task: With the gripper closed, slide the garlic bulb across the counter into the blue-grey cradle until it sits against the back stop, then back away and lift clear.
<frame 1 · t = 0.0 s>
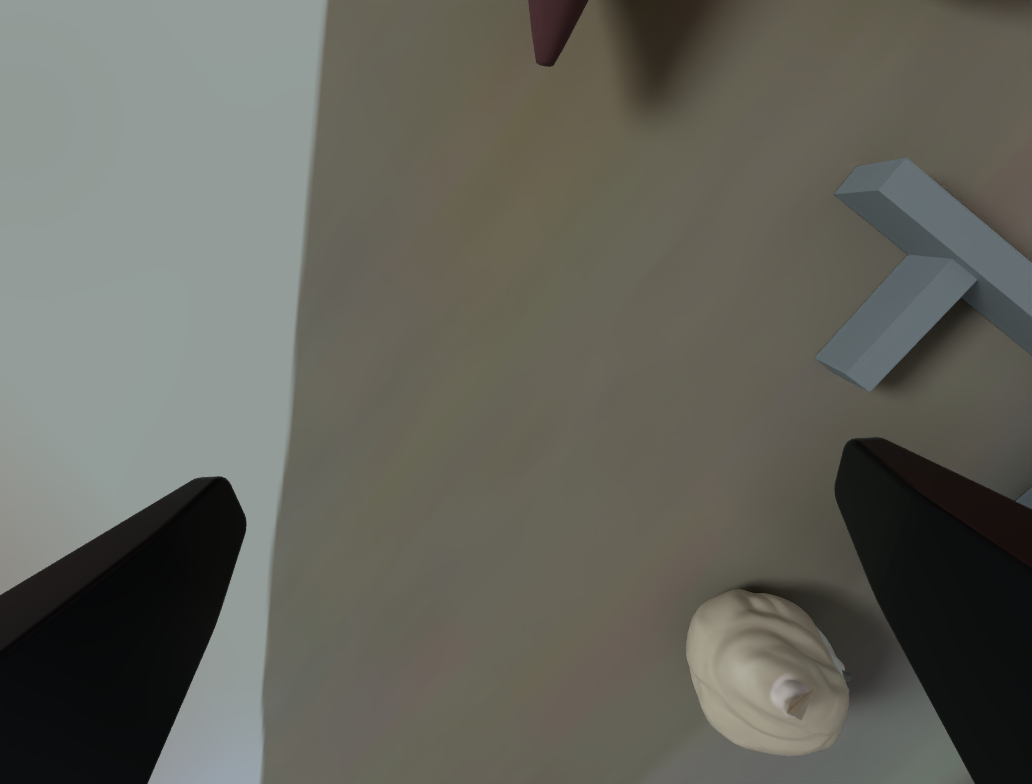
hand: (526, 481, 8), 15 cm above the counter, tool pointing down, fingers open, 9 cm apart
garlic bulb: (737, 620, 27), on the counter
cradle: (934, 433, 24), on the counter
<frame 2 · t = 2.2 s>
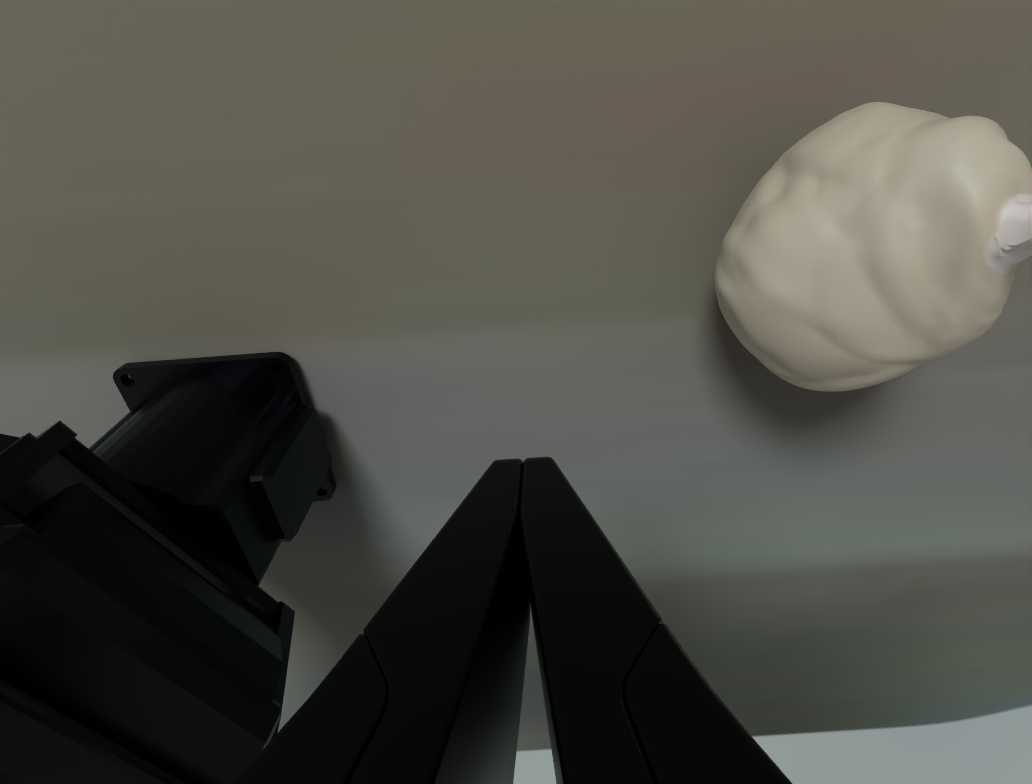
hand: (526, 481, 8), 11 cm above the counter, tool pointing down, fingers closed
garlic bulb: (797, 224, 17), on the counter
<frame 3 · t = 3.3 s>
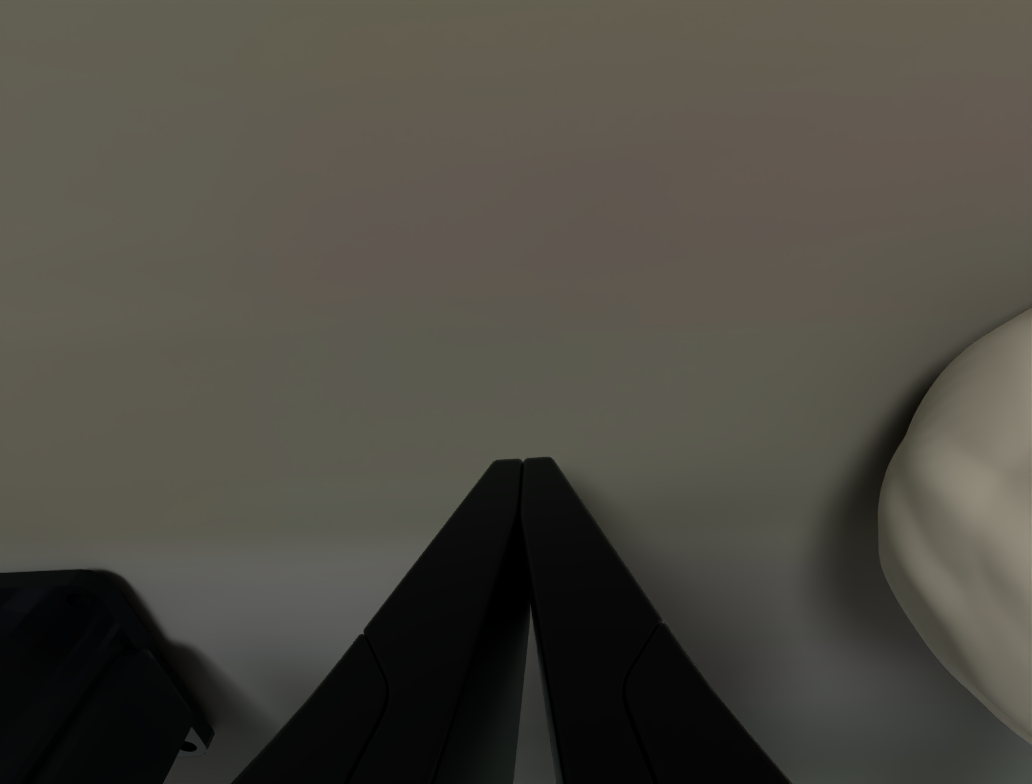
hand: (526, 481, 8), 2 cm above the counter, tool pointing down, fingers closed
garlic bulb: (1008, 384, 9), on the counter
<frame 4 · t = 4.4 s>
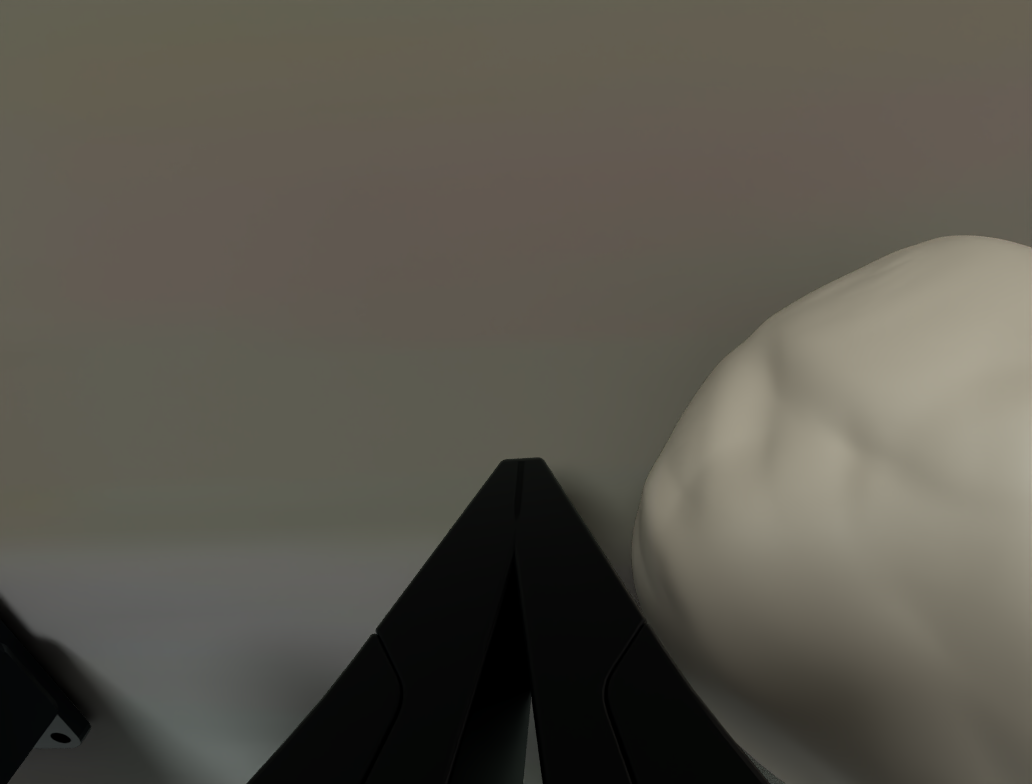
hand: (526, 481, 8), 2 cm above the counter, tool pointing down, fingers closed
garlic bulb: (799, 400, 10), on the counter, touching gripper
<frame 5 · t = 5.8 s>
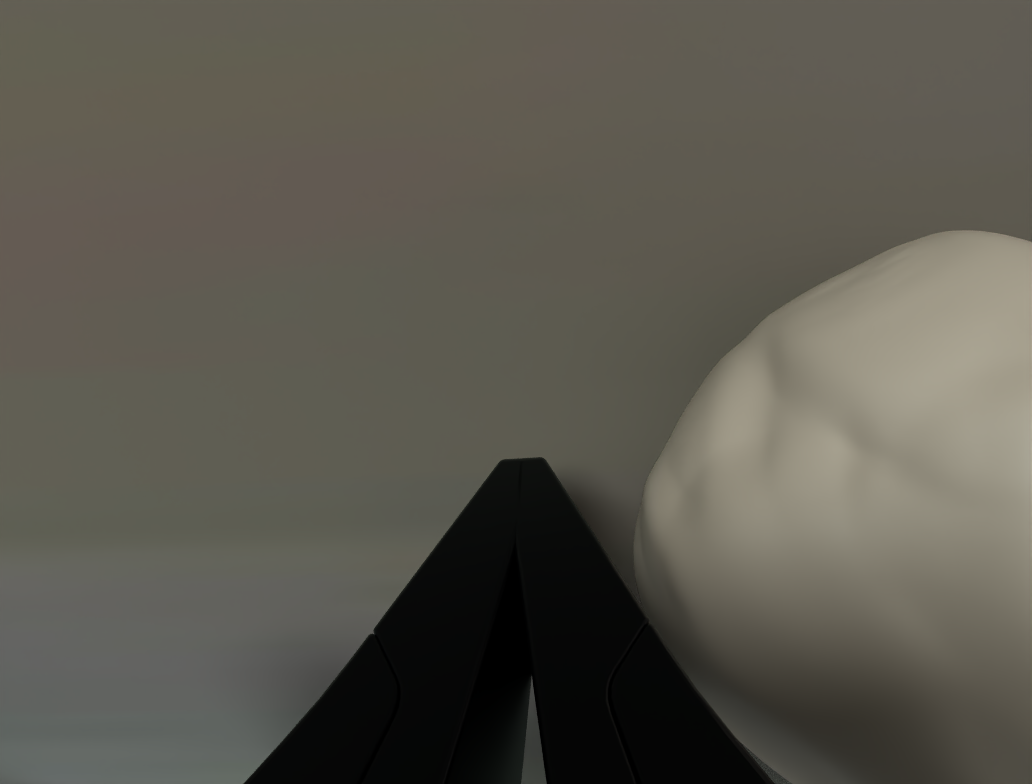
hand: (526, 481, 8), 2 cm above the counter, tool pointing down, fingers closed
garlic bulb: (799, 397, 10), on the counter, touching gripper
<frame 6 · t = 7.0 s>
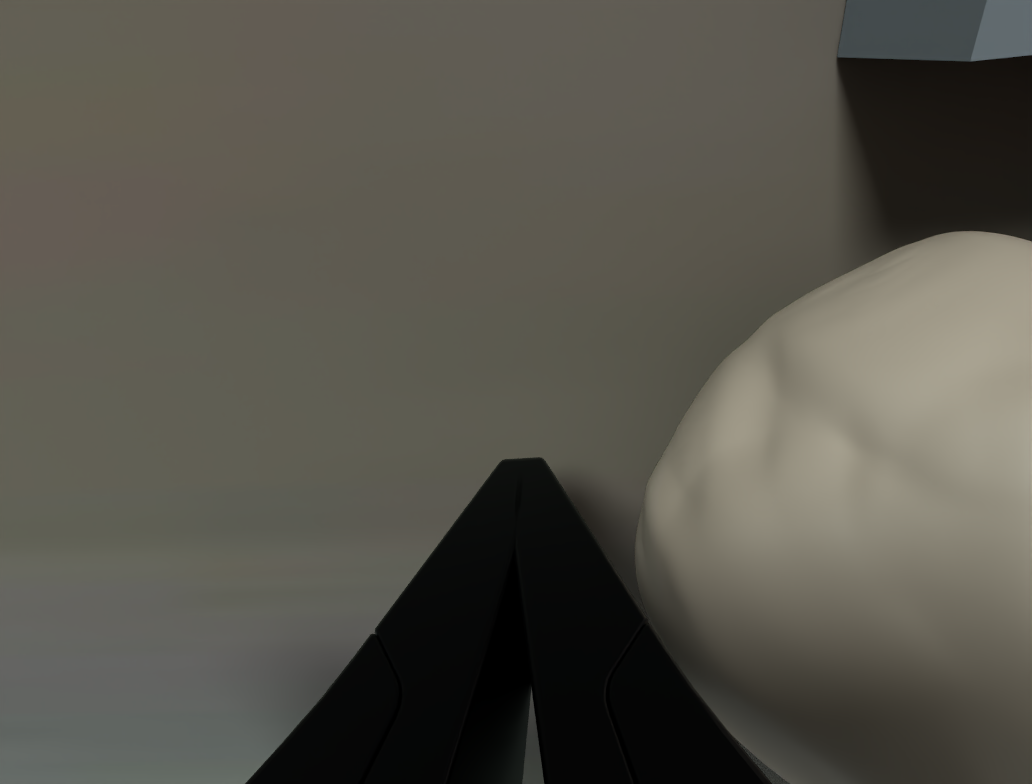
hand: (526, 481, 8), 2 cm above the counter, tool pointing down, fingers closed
garlic bulb: (803, 398, 9), on the counter, touching gripper
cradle: (809, 406, 9), on the counter
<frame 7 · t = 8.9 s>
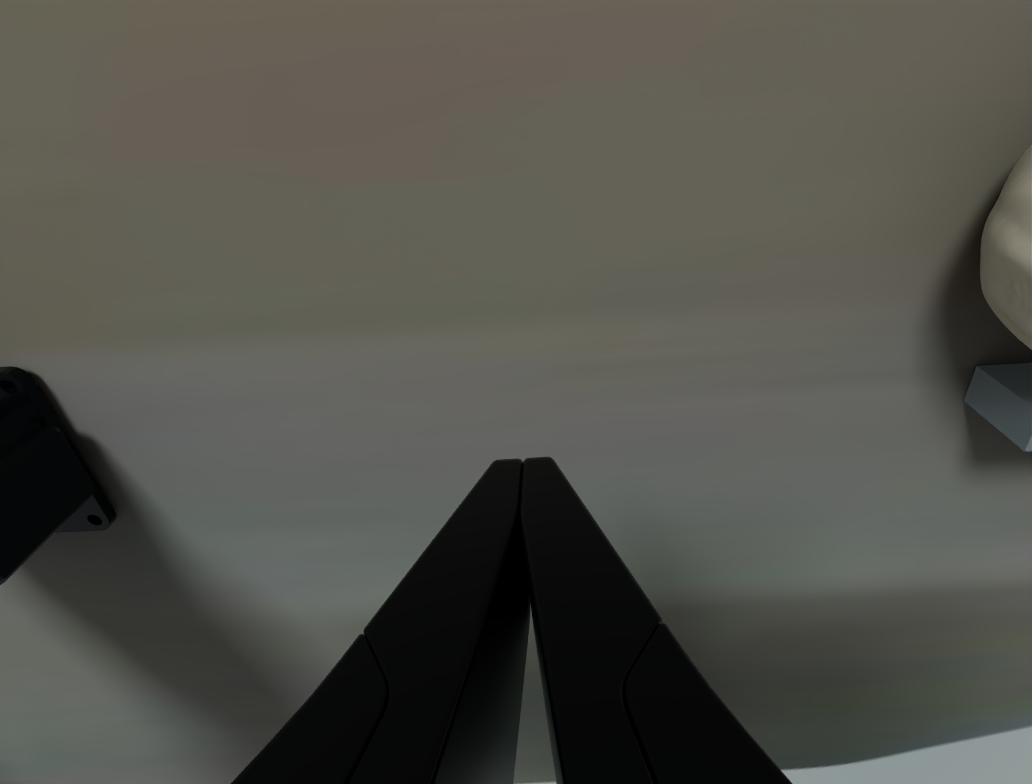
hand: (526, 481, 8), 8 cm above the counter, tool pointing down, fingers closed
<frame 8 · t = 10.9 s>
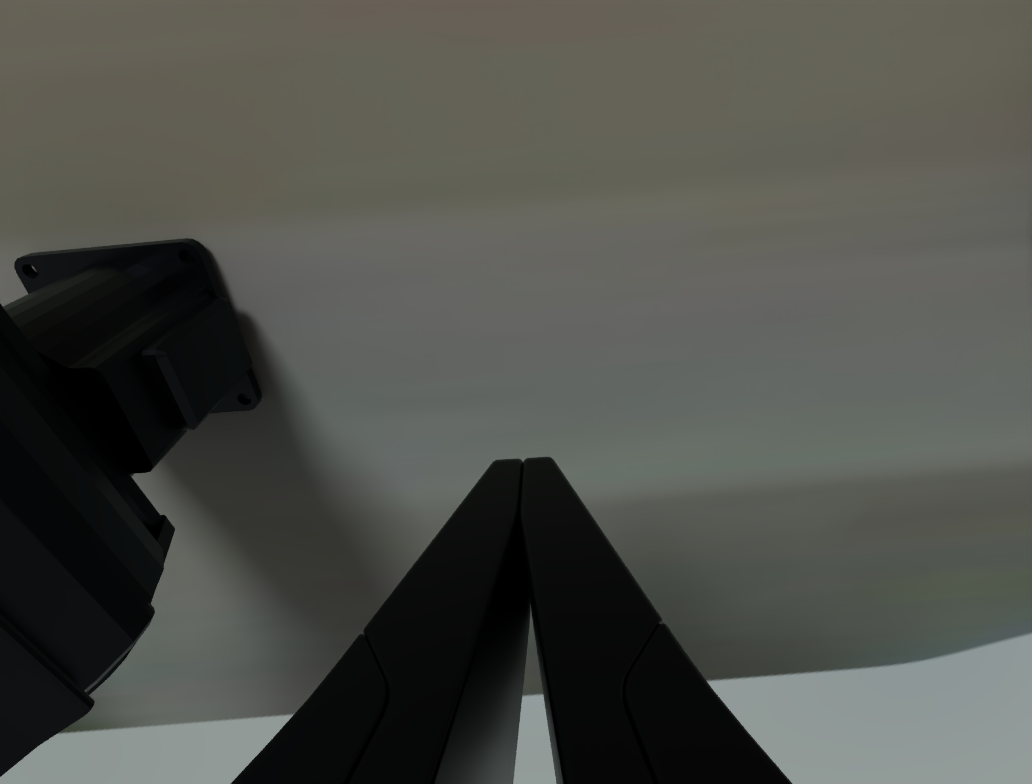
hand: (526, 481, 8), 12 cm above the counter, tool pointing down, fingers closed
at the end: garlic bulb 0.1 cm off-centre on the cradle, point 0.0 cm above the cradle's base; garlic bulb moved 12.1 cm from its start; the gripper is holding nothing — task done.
